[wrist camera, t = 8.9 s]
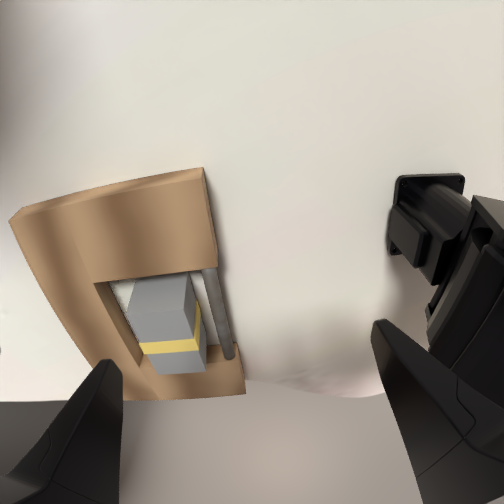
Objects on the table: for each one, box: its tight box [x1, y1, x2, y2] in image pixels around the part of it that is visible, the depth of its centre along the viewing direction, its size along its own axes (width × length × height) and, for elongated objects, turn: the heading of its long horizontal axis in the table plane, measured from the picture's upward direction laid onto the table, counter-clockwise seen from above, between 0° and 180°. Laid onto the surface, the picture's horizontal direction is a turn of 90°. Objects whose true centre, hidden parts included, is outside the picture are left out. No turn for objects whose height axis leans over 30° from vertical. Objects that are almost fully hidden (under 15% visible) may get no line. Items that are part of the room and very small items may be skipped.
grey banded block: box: [126, 271, 207, 375], centre depth 22 cm, size 4×7×4 cm, turn 6°
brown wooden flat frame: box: [9, 167, 246, 400], centre depth 23 cm, size 14×22×2 cm, turn 6°
